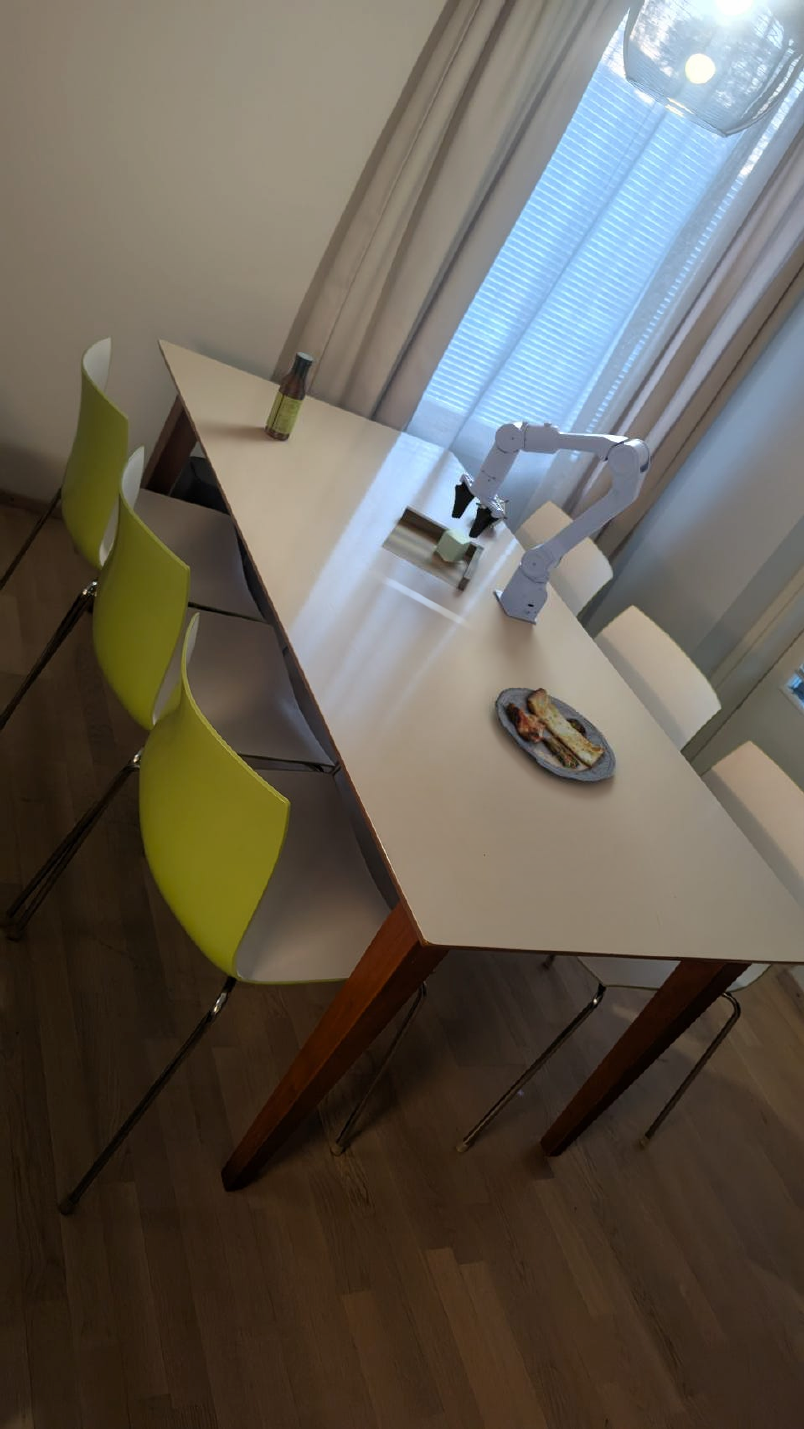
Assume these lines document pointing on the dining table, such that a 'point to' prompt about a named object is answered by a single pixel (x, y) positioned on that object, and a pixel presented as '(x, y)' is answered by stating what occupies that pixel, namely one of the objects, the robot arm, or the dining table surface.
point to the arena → (430, 548)
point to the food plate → (555, 733)
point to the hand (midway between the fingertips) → (463, 527)
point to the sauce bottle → (289, 399)
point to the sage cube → (453, 545)
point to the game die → (503, 506)
